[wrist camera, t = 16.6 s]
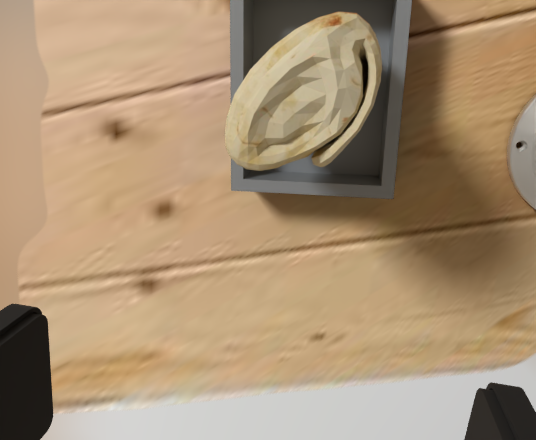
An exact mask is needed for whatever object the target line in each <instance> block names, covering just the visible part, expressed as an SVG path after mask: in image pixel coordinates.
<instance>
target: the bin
mask: <svg viewBox="0 0 536 440" xmlns="http://www.w3.org/2000/svg"><path fill="white" fill-rule="evenodd" d="M411 6H412V0H230V63H231V103H232V100H233V97H234V94H235V93H236V91H237V89H238V88H239V86H240V85H241V83H242V82H243V80H244V78H245V77H246V75H247V74H248V72H249V71H250V69H251V68H252V67H253V66H254V65H255V64H256V63H257V62H258V61H259V60H260V59H261V58H262V57H263V56H264V55H265V54H266V52H267V51H268V50H269V49H270V48H271V47H272V46H274V45H275V44H276V43H278V42H279V41H280V40H282V39H283V38H284V37H286V36H287V35H288V34H290V33H291V32H292V31H294V30H295V29H296V28H298V27H300V26H302V25H304V24H306V23H308V22H310V21H312V20H314V19H316V18H318V17H321V16H325V15H328V14H331V13H335V12H338V11H339V12H352V13H357V14H359V15H360V16H361V17H362V18H363V19H364V20H366V21H367V22H368V23H369V24H370V26H371V28H372V29H373V31H374V32H375V34H376V37H377V40H378V43H379V46H380V50H381V60H382V73H381V82H380V85H379V89H378V92H377V96H376V99H375V103H374V106H373V108H372V110H371V111H370V113H369V115H368V117H367V119H366V120H365V122H364V124H363V126H362V128H361V130H360V131H359V132H358V133H357V135H356V136H355V137H354V138H353V139H352V140H351V141H350V143H349V144H348V145H347V146H346V147H345V148H344V149H343V151H342V152H341V153H340V154H339V155H338V156H337V157H336V158H335V159H334V160H333V161H332V162H331V163H329V164H328V165H326V166H324V167H319V166H316V165H314V164H313V162H312V159H311V158H312V155H313V153H314V152H315V151H314V152H313V153H312V154H310V155H309V156H308V157H305V158H302V159H299V160H296V161H293V162H290V163H287V164H285V165H282V166H280V167H278V168H274V169H268V170H262V171H257V170H249V169H246V168H244V167H242V166H239V165H237V164H236V163H235V161H234V160H233V159H232V158H231V190H232V191H251V192H269V193H288V194H307V195H325V196H344V197H363V198H381V199H393V198H394V187H395V176H396V166H397V155H398V144H399V134H400V123H401V112H402V102H403V91H404V80H405V70H406V59H407V48H408V38H409V27H410V16H411Z"/></svg>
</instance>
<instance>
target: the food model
mask: <svg viewBox="0 0 536 440" xmlns="http://www.w3.org/2000/svg"><path fill="white" fill-rule="evenodd" d="M381 73H382V60H381V50H380V46H379V43H378V40H377V37H376V34H375V32H374V31H373V29H372V28H371V26H370V24H369V23H368V22H367V21H366V20H364V19H363V18H362V17H361V16H360V15H359V14H357V13H352V12H339V11H338V12H335V13H331V14H328V15H325V16H321V17H318V18H316V19H314V20H312V21H310V22H308V23H306V24H304V25H302V26H300V27H298V28H296V29H295V30H294V31H292V32H291V33H290V34H288V35H287V36H286V37H284V38H283V39H282V40H280V41H279V42H278V43H276V44H275V45H274V46H272V47H271V48H270V49H269V50H268V51H267V52H266V54H265V55H264V56H263V57H262V58H261V59H260V60H259V61H258V62H257V63H256V64H255V65H254V66H253V67H252V68H251V69H250V71H249V72H248V74H247V75H246V77H245V78H244V80H243V82H242V83H241V85H240V86H239V88H238V89H237V91H236V93H235V94H234V97H233V100H232V103H231V106H230V109H229V112H228V115H227V120H226V127H225V145H226V149H227V151H228V154H229V156H230V157H231V158H232V159H233V160H234V161H235V163H236V164H237V165H239V166H242V167H244V168H246V169H249V170H257V171H262V170H268V169H274V168H278V167H280V166H282V165H285V164H287V163H290V162H293V161H296V160H299V159H302V158H305V157H308V156H309V155H310V154H312V153H313V152H314V151H315V152H314V153H313V155H312V158H311V159H312V162H313V164H314V165H316V166H319V167H324V166H326V165H328V164H329V163H331V162H332V161H333V160H334V159H335V158H336V157H337V156H338V155H339V154H340V153H341V152H342V151H343V149H344V148H345V147H346V146H347V145H348V144H349V143H350V141H351V140H352V139H353V138H354V137H355V136H356V135H357V133H358V132H359V131H360V130H361V128H362V126H363V124H364V122H365V120H366V119H367V117H368V115H369V113H370V111H371V110H372V108H373V106H374V103H375V99H376V96H377V92H378V89H379V85H380V82H381Z"/></svg>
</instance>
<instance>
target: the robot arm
mask: <svg viewBox="0 0 536 440" xmlns="http://www.w3.org/2000/svg"><path fill="white" fill-rule="evenodd" d="M518 142H521V146H520V147H519V148H517V147H516V144H517V143H518ZM507 165H508V170H509V174H510V177H511V180H512V182H513V184H514V186H515V189H516V190H517V191H518V193H519V194H520V195H521V197H522V198H523V199H524V200H525V201H526V202H527V203H528V204H529V205H531V206H532V207H533V208H534V209H535V210H536V94H535V95H534V96H533V97H532V98H531V99H530V100H529V101H528V103H527V104H526V105H525V106H524V108H523V109H522V111H521V112H520V114H519V115H518V117H517V118H516V120H515V123H514V125H513V128H512V130H511V132H510V136H509V141H508V146H507ZM52 418H53V402H52V385H51V369H50V352H49V336H48V321H47V318H46V316H44V315H42V312H41V310H40V309H39V308H37V307H31V306H25V305H19V304H11V305H9V306H7V307H5V308H4V309H2V310H1V311H0V440H40V439H41V438H42V437H43V435H44V434H45V433H46V432H47V430H48V429H49V427H50V425H51V422H52ZM465 440H536V412H535V411H534V409H533V407H532V405H531V403H530V401H529V399H528V397H527V396H526V394H525V392H524V390H523V389H522V388H520V387H515V386H508V385H503V384H497V383H490V384H488V386H487V388H486V389H481V388H479V389H478V390H477V393H476V396H475V399H474V404H473V408H472V412H471V415H470V419H469V423H468V427H467V432H466V436H465Z"/></svg>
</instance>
